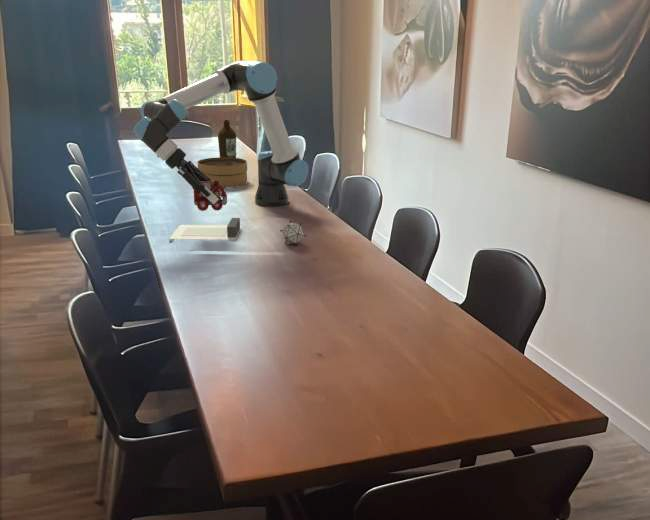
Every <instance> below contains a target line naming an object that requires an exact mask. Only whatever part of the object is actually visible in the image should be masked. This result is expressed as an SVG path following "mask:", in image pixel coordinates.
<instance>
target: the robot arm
mask: <svg viewBox="0 0 650 520" xmlns="http://www.w3.org/2000/svg"><path fill="white" fill-rule="evenodd" d="M277 82H278V75H277V72H276V70H275V69H274V67H273V66H272V65H271V64H270V63H268V62H265V61H261V60H245V59H243V60H242V59H241V60H238V61H237V60H236V61H234V62H232V63H230V64H228V65H226V66H224V67H221V68H219V69H217V70H215V71H214V74H212V75H210V76H208V77H206V78H203V79H201V80H199V81H197V82H194V83H193V84H192V83H191V84H190V85H188V86H186V87H184V88H181V89H179V90H177V91H175V92H172V93H170V94H167V95H166V96H164V97H162V98H158V99H156V100H154V101H153V100H152V101H149V100H148V101H145V102H144V103H143V104H142V105H141V107H140V110H139V112H140V117H141V118H142V119H140V120H139V121H138V122H137V123H136V124H135V125H134V127H133V129H132V132H133V133H134V134H135V136H136V137H137V138H138V139H139V140H140V141H141V142H142V143H144V145H146V147H148V148H149V149H150V150H151V151H152V152H153V153H154V154H155V155H156V157H157V158H160V160H162V161H165V164H166V165H167V166H168V167H169V168H170V169H172V170H174V169H175V168H177V169H178V170H177V174H178V175H179V176H181V177H182V178H183V179H184V180H185V181H186V182H187V183H188V184H189V185H190V186H191V188H192V187H193V188H194V189H195V190H196V191H197V193H200V192H201V193H202V194H203V195H204V196H205V197H206V198H207V199H208V200H209V201H210V202H211V203H213V204H215V203H216V202H217V201H218V200H219V199H218V198H217V197H216V196H215V195H214V194H213V193H212V192H213V191H212V192H211V191H210V190H209V189H208V188H207V187H205V188H204V185H203V184H202V183H201V182H200V181H210V180H211V179H210V178H208V177H207V176H206V175H205V174H204V173H203V172H201V171H200V170H199V169H198V166H197V165H195V164H194V163H193V162H192V161H191V160H186V159H185V158H186V156H187V154H186V152H184V151H183V150H182V148H179V147H178V144H176V143H175V142H174V141H173V140H172V139H171V138H170V137H169V136H168V134H169V133H170V132H171V131H172V130H173V129H174V128H175V127H176V126H178V125H179V123H181V122H182V121H183V119H185V117H186V116H187V114H188V112H187V110H188V109H190V108H193V107H194V106H196V105H199V104H201V103H203V102H206V101H208V100H210V99H212V98H214V97H216V96H218V95H220V94H223V93H224V94H229V93H232V92H234V91H235V92H236V91H244V92H245V93H246V97H247V98H248V101H249V102H251V103H253V105H254V107H255V110H256V112H257V115H258V119H259V120H260V123H261V126H262V128H263V130H264V133H265V136H266V139H267V141H268V145H269V147H270V150H268V151H267V150H265V151H261V152H259V153H258V154H257V171H258V174H257V175H258V180H257V181H258V186H257V190H256V192H255V196H254V203H255V204H256V205H259V206H265V207H278V206H284V205H287V204H289V201H290V200H289V194H288V192H287V188H286V186H289V187H299V186H301V185H302V184H303V183H304V182H305V181H306V180H307V177H308V175H309V165H308V163H307V162H306V161H304V159H301V158H300V155H299V152H298V150H297V149H295V148H294V147H293V145H292V142H291V139H290V138H289V134H288V132H287V131H288V130H287V129H286V126H285V123H284V120H283V116H282V114H281V112H280V109H279V105H278V102H277V100H276V97H275V94H277V88H276V87H277ZM285 185H286V186H285ZM193 188H192V189H193ZM214 190H215V189H214ZM220 197H221V194H220Z"/></svg>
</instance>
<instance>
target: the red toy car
mask: <svg viewBox="0 0 650 520" xmlns="http://www.w3.org/2000/svg"><path fill="white" fill-rule="evenodd" d="M200 182H201V183H202V184H203V185H204V188H205V187H207V188H208V189H209V190H210V191H211V192H212V191H213V192H212V193H213V194H214V195H215V196H216V197H217V198H218V199H219V200H218V201H217V202H216V203H215V204H213V203H211V202H210V201H209V200H208V199H207V198H206V197H205V196H204V195H203V194H202V193H201V192H200V193H197V191H196V190H195V189H194V188H193V187H192V186H191V188H192V190H193V203H194V206H196V207H197V209H198V210H199V211H201V212H204V211H207V210H208V208H209V206H211V209H213V210H214V211H221V210H222V209H223V206H226V205H228V194H227V192H226V191H225V188H223V187H222V186H221V185H219V182H218V181H217V180H215V181H214V182H213V184H212V182H211V181H200ZM214 189H215V190H214ZM220 194H221V196H220Z"/></svg>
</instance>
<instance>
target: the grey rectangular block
mask: <svg viewBox="0 0 650 520" xmlns="http://www.w3.org/2000/svg"><path fill="white" fill-rule="evenodd" d="M240 226H241V217H231V218H230V220H229V222H228V224H227V237H236V236H237V237H238V235H237V233H238V231H239V229H240ZM240 230H241V229H240ZM239 232H240V231H239ZM238 234H239V233H238ZM237 237H236V238H237Z"/></svg>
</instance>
